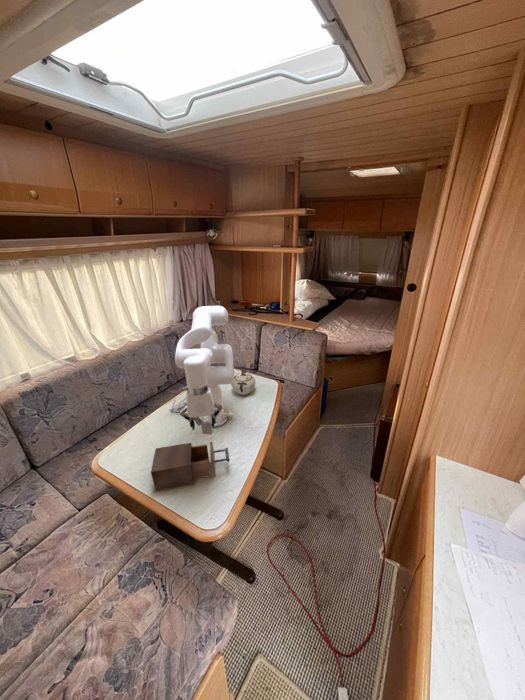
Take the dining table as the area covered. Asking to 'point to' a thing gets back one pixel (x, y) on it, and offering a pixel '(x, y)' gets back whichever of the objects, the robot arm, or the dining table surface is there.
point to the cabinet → (172, 466)
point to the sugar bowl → (243, 383)
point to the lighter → (204, 426)
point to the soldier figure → (177, 406)
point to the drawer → (204, 460)
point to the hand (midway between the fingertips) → (203, 426)
